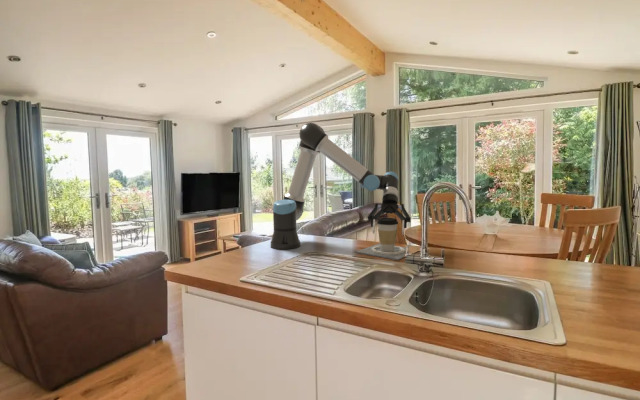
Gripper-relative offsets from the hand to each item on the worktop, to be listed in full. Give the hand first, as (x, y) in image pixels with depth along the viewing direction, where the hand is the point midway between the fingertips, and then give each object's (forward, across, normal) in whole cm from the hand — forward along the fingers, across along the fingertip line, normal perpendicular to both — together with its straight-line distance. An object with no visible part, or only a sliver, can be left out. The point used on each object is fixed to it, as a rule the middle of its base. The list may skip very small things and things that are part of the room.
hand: (388, 232), depth 163 cm
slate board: (+6, 0, -8) cm, 10 cm away
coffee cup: (+5, 0, -8) cm, 9 cm away
